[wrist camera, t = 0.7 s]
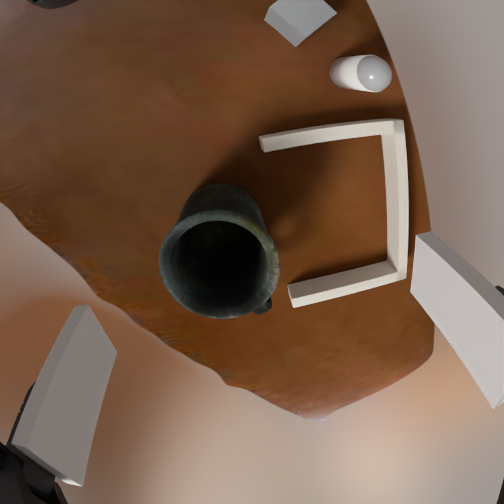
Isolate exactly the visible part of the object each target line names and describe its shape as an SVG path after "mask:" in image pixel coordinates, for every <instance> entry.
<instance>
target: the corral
mask: <svg viewBox="0 0 504 504" xmlns="http://www.w3.org/2000/svg"><path fill="white" fill-rule="evenodd" d="M371 135H381V136H382V145H383V155H384V167H385V181H386V199H387V261H383V262H379V263H375V264H371V265H367V266H364V267H360V268H356V269H352V270H348V271H344V272H339V273H335V274H331V275H327V276H323V277H319V278H314V279H310V280H306V281H302V282H297V283H293V284H288V285H287V286H288V292H289V296H290V299H291V302H292V305H293V308H295V307H299V306H304V305H308V304H312V303H316V302H320V301H324V300H328V299H332V298H336V297H340V296H344V295H348V294H352V293H356V292H359V291H363V290H367V289H370V288H374V287H378V286H381V285H385V284H388V283H392V282H395V281H399V280H402V279H405V278H406V272H407V255H408V224H409V201H408V171H407V155H406V142H405V132H404V122H403V120H400V119H392V118H385V119H373V120H363V121H353V122H344V123H336V124H329V125H321V126H315V127H308V128H302V129H295V130H290V131H284V132H278V133H273V134H268V135H262V136H259V140H260V145H261V149H262V150H263V151H264V152H269V151H274V150H280V149H285V148H290V147H296V146H302V145H308V144H314V143H320V142H326V141H333V140H340V139H347V138H355V137H363V136H371Z"/></svg>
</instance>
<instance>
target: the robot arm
mask: <svg viewBox="0 0 504 504" xmlns="http://www.w3.org/2000/svg"><path fill="white" fill-rule="evenodd" d="M28 1H29V2H30V3H32V4H34V5H36V6H39V7H41V8H46V9H53V8H59V7H63V6H66V5H69V4H71V3H73V2H75V1H77V0H28ZM410 292H411V293H412V294H413V296H414V297H415V298H416V299H417V301H418V302H419V303H420V304H421V306H422V307H423V308H424V310H425V311H426V312H427V314H428V315H429V316H430V317H431V319H432V320H433V321H434V323H435V324H436V325H437V327H438V328H439V329H440V331H441V332H442V333H443V335H444V336H445V338H446V339H447V340H448V341H449V343H450V344H451V346H452V347H453V349H454V350H455V352H456V353H457V355H458V356H459V357H460V359H461V360H462V362H463V363H464V365H465V366H466V367H467V369H468V371H469V372H470V374H471V375H472V377H473V378H474V380H475V381H476V383H477V384H478V386H479V387H480V389H481V390H482V392H483V394H484V395H485V397H486V399H487V400H488V402H489V404H490V405H491V407H492V409H494V408H496V407H498V406H499V405H500V404H502V403H503V402H504V289H503V288H501V287H500V286H496V287H494V286H493V285H492V284H491V283H490V282H489V281H488V280H487V279H485V277H484V276H482V275H481V274H480V273H479V272H478V271H477V270H476V269H475V268H474V267H472V266H471V265H470V264H469V263H468V262H467V261H466V260H465V259H463V258H462V257H461V256H460V255H459V254H458V253H457V252H455V251H454V250H453V249H452V248H451V247H449V246H448V245H447V244H446V243H445V242H443V241H442V240H441V239H440V238H439V237H437V236H436V235H435V234H433V233H432V232H431V231H430V232H426V233H422V234H418V235H416V241H415V254H414V264H413V274H412V282H411V290H410ZM116 355H117V351H116V349H115V348H114V346H113V345H112V343H111V341H110V340H109V338H108V337H107V335H106V333H105V332H104V330H103V329H102V327H101V325H100V323H99V322H98V320H97V318H96V317H95V315H94V313H93V312H92V310H91V308H90V306H89V305H82V306H77V307H74V309H73V310H72V312H71V314H70V316H69V318H68V319H67V321H66V323H65V325H64V327H63V329H62V330H61V332H60V334H59V336H58V338H57V340H56V342H55V343H54V345H53V347H52V349H51V351H50V353H49V355H48V357H47V359H46V361H45V363H44V365H43V367H42V370H41V372H40V374H39V376H38V378H37V380H36V381H35V382H34V384H33V385H32V386H31V387H30V389H29V390H28V392H27V394H26V396H25V399H24V401H23V402H24V404H22V406H21V408H20V413H18V416H17V418H16V421H15V423H14V426H13V428H12V431H11V434H10V437H9V439H8V442H7V444H6V446H5V445H3V444H2V443H1V442H0V504H68V503H67V501H66V499H65V497H64V495H63V492H62V490H61V488H60V486H59V485H58V483H56V482H55V481H54V480H55V476H56V477H58V478H59V479H61V480H62V481H64V482H66V483H69V484H73V485H78V486H83V482H84V477H85V472H86V467H87V462H88V458H89V453H90V449H91V444H92V440H93V436H94V432H95V428H96V424H97V420H98V416H99V412H100V409H101V405H102V401H103V398H104V394H105V391H106V387H107V384H108V380H109V377H110V374H111V370H112V367H113V364H114V361H115V358H116ZM497 504H504V480H503V483H502V487H501V491H500V495H499V498H498V501H497Z"/></svg>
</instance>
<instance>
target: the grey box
mask: <svg viewBox="0 0 504 504" xmlns="http://www.w3.org/2000/svg"><path fill="white" fill-rule="evenodd" d="M335 14H337V12H335V11H334V10H333V9H332V8H331V7H330V6H329V5H328V4H327V3H326V2H325V1H323V0H278V1H276V2H275V3H274V4H273V5H271V6H270V7H269V9H268V12H267V14H266V16H265V19H264V20H265V21H266V22H267V23H268V24H270V25H271V26H272V27H273V28H274V29H276V30H277V31H278V32H279V33H280V34H281V35H283V36H284V37H285V38H286V39H287V40H288V41H289V42H291V43H292V44H293V45H294V46H295V47H296V46H298V45H299V44H300V43H301V42H302V41H303V40H305V39H306V38H307V37H308V36H309V35H311V34H312V33H313V32H314V31H316V30H317V29H318V28H319V27H321V26H322V25H323V24H324V23H326V22H327V21H328V20H329V19H330V18H332V17H333V16H334V15H335Z"/></svg>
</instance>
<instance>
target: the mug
mask: <svg viewBox="0 0 504 504" xmlns="http://www.w3.org/2000/svg"><path fill="white" fill-rule="evenodd" d="M159 269H160V274H161V278H162V280H163V283H164V285H165V287H166V288H167V290H168V292H169V293H170V294H171V296H172V297H173V298H174V299H175V300H176V301H177V302H178V303H179V304H180V305H182V306H183V307H185V308H186V309H188V310H190V311H192V312H194V313H196V314H199V315H201V316H205V317H209V318H216V319H230V318H236V317H240V316H243V315H246V314H248V313H250V312H254V313H255V314H257V315H259V314H263V313H265V312H267V311H268V310H270V309H271V308H272V300H271V297H270V296H271V295H272V293H273V292H274V290H275V288H276V286H277V283H278V280H279V276H280V257H279V253H278V250H277V247H276V245H275V243H274V241H273V239H272V238H271V236H270V235H269V234H268V233H267V230H266V227H265V224H264V221H263V217H262V214H261V211H260V209H259V207H258V205H257V203H256V202H255V201H254V199H253V198H252V197H251V196H250V195H249V194H248V193H246V192H245V191H243V190H242V189H240V188H238V187H235V186H232V185H228V184H213V185H208V186H205V187H203V188H201V189H199V190H197V191H196V192H195V193H193V194H192V195H191V196H190V197H189V199H188V200H187V201H186V203H185V205H184V207H183V209H182V211H181V213H180V216H179V218H178V220H177V223H176V225H175V226H174V227H173V228H172V229H171V230H170V231H169V233H168V234H167V236H166V237H165V239H164V241H163V243H162V246H161V249H160V254H159Z"/></svg>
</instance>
